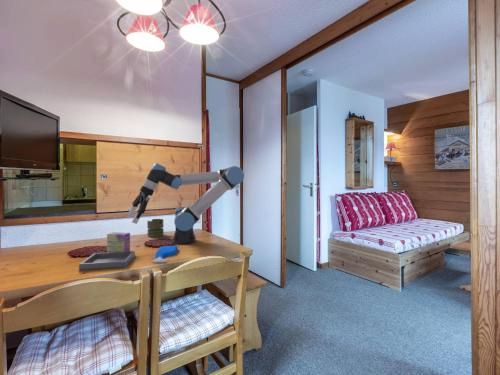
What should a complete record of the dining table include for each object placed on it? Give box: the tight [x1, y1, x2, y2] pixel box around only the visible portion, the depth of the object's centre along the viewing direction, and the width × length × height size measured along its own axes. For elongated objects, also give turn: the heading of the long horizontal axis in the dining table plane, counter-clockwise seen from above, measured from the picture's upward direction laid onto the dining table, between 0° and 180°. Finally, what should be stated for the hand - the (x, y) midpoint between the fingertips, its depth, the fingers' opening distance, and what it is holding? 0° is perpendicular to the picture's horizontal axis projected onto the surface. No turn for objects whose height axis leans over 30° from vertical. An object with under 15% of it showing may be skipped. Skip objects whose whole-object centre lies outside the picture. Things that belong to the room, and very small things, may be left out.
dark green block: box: [146, 218, 165, 239], centre depth 190 cm, size 11×12×11 cm
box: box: [106, 231, 131, 253], centre depth 143 cm, size 10×6×12 cm, turn 84°
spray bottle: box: [152, 245, 179, 264], centre depth 139 cm, size 3×11×24 cm
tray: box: [78, 250, 136, 272], centre depth 127 cm, size 20×18×3 cm
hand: (131, 219), depth 151 cm, fingers open, 13 cm apart
